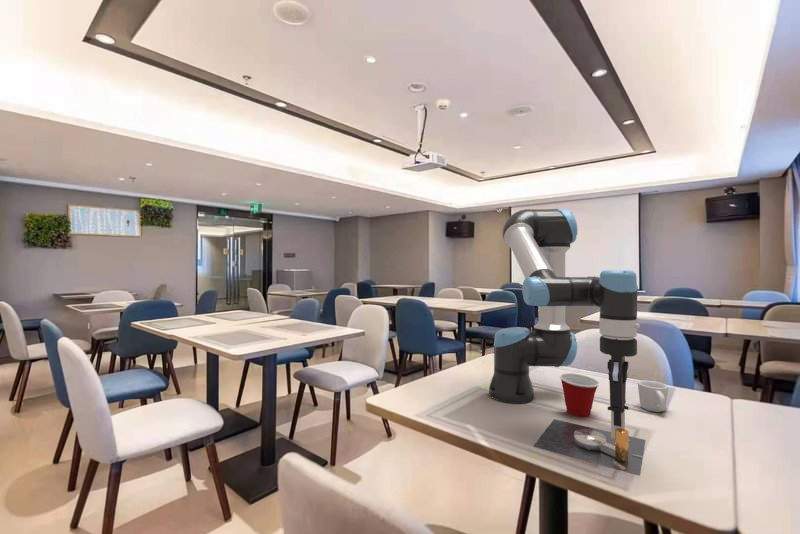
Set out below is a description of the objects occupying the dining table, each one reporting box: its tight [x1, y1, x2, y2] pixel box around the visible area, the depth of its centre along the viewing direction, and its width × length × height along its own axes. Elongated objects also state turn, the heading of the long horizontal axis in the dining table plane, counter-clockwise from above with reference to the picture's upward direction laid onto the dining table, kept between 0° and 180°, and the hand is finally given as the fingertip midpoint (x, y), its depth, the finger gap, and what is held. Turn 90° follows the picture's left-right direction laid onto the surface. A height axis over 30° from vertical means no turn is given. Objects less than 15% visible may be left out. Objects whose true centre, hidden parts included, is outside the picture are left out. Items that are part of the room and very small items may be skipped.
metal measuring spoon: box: [574, 428, 630, 461], centre depth 91 cm, size 13×7×6 cm, turn 28°
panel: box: [533, 419, 646, 476], centre depth 94 cm, size 22×20×2 cm
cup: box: [637, 379, 669, 413], centre depth 119 cm, size 11×8×8 cm
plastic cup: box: [559, 372, 600, 418], centre depth 113 cm, size 11×11×12 cm
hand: (618, 437), depth 89 cm, fingers closed
